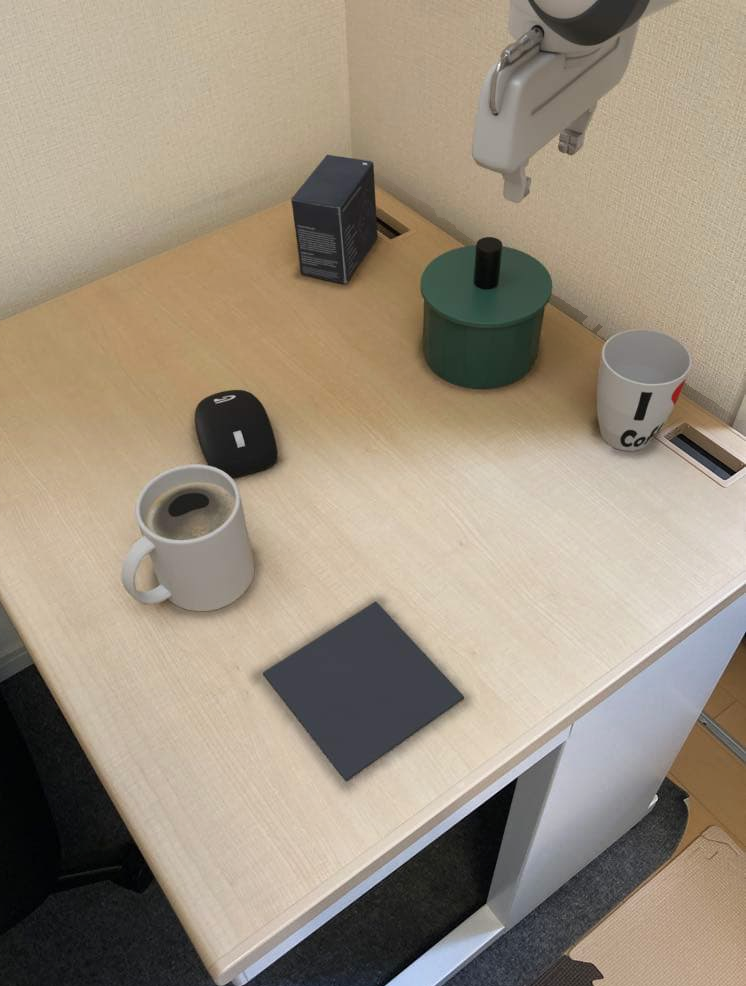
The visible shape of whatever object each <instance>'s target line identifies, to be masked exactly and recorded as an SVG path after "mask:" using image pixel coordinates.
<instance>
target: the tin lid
mask: <svg viewBox="0 0 746 986" xmlns="http://www.w3.org/2000/svg"><path fill="white" fill-rule="evenodd" d="M419 283H420V284H419V288H420V294H421V297H422V299H423V302H424V301H425V303H426V304H427V305H428V306H429V307H430V308H431V309H432V310H433V311H434V312H435V313H437V314H438V315H440V316H441V317H443V318H445V319H447V320H449V321H452V322H454V323H457V324H461V325H465V326H470V327H477V328H499V327H506V326H511V325H515V324H518V323H521V322H524V321H526V320H528V319H530V318H532V317H534V316H535V315H537V314H538V313H539V312H540V311H542V310H543V308H544V307H545V308H546V306H547V305H548V303H549V302H550V299H551V297H552V293H553V292H552V291H553V280H552V276H551V275H550V272H549V271H548V269H547V268H546V266H545V265H544V264H543V263H542V262H541V261H539V260H538V259H537V258H536V257H534V256H532V255H530V254H529V253H526V252H524V251H522V250H519V249H516V248H512V247H510V246H509V247H508V246H505V245H503V242H502V241H501V240H500V239H499V238H497V237H493V236H485V237H482V238H479V239H478V240H477V241H476V243H475V244H472V245H466V246H461V247H457V248H454V249H451V250H448V251H445V252H444V253H442V254H439V255H438V256H436V257H435V258H434V259H432V260H431V261H430V262H429V263H428V264H427V265H426V267H425V268H424V270H423V272H422V274H421V277H420V282H419Z"/></svg>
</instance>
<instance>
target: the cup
mask: <svg viewBox="0 0 746 986" xmlns="http://www.w3.org/2000/svg"><path fill="white" fill-rule="evenodd" d="M692 359H693V357H692V354H691V352H690V350H689V349H688V348H687V346H686V345H685V344H684V343H683V342H681V341H680V340H679V339H678V338H676V337H674V336H672V335H670V334H669V333H665V332H663V331H660V330H655V329H650V328H649V329H648V328H631V329H627V330H622V331H619V332H617V333H615V334H613V335H612V336H611V337H610V338H608V339H607V340H606V341H605V342H604V344H603V346H602V350H601V355H600V363H599V371H598V376H597V377H598V378H597V386H596V391H597V392H596V406H597V407H596V415H597V420H598V425H599V426H598V427H599V431H600V435H601V438H602V439H603V441H604V442H605V443H606V444H607V445H609V446H610V447H612V448H614V449H616V450H621V451H626V452H632V451H638V450H642V449H644V448H645V447H647V446H648V445H649V444H650V443H651V442H652V440H653V439H654V438H655V437H656V435H658V433H660V431H661V430H662V428H663V427H664V425H665V423H666V421H667V420H668V418H669V417H670V415H671V413H672V411H673V410H674V408H675V406H676V404H677V403H678V400H679V397H680V395H681V393H682V390H683V388H684V385H685V383H686V380H687V378H688V375H689V374H690V373H689V372H690V371H691V368H692V365H693V360H692Z"/></svg>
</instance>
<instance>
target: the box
mask: <svg viewBox="0 0 746 986" xmlns="http://www.w3.org/2000/svg"><path fill="white" fill-rule="evenodd" d="M375 184H376V183H375V165H374V162H373V161H372V160H365V159H361V158H360V159H359V158H354V157H346V156H338V155H332V154H326V155H325V156H324V158H323V159H322V160H321V162H320V163H318V165H317V166H316V167H315V169H314V170H313V171H312V173H310V175H309V176H308V177H307V179H306V180H305V181H304V183H303V184H302V185H301V186H300V187H299V188H298V189H297V191H296V192H295V193H294V194H293V196H292V197H291V198H290V202H291V207H292V215H293V223H294V231H295V232H294V233H295V239H296V247H297V254H298V263H299V270H300V275H302V276H307V277H312V278H315V279H320V280H324V281H325V280H326V281H329V282H335V283H339V284H348V283H349V281H350V279H351V278H352V277H353V275H354V273H355V272H356V270H357V269H358V268H359V266H360V264H361V263H362V262H363V260H364V259H365V257H367V254H368V253H369V251H370V250H371V249H372V246H373V245H374V243H376V241H377V239H378V236H379V235H378V220H377V202H376V186H375Z"/></svg>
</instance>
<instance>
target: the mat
mask: <svg viewBox="0 0 746 986" xmlns="http://www.w3.org/2000/svg"><path fill="white" fill-rule="evenodd" d="M262 675H263V676H264V678H265V680H267V682H268V683H269V685H270V686H271V687H272V688H273V689H274V691H275V692H276V694H277V695H278V696H279V697H280V699H281V700H282V701H283V702H284V704H285V705H286V707H288V709H289V710H290V712H291V713H292V714H293V715H294V717H295V718H296V719H297V720H298V722H299V723H300V724H301V726H302V727H303V728H304V730H305V731H306V732H307V734H308V735H309V737H311V739H312V740H313V742H314V743H315V744H316V745H317V746H318V748H319V749H320V751H322V753H323V754H324V756H325V757H326V758H327V759H328V761H329V762H330V763H331V765H332V766H333V767H334V768H335V770H336V771H337V772H338V773H339V775H340V776H341V778H342V779H343V780H344V781H345V782H348V781H349V780H351V779H352V778H354V777H355V776H356V775H358V774H359V773H360V772H362V771H363V770H365V769H366V768H367V767H369V766H370V765H372V764H374V763H375V762H376V761H377V760H380V758H382V757H383V756H385V755H386V754H387V753H389V752H390V751H392V750H394V749H395V748H396V747H398V746H399V745H400V744H402V743H403V742H404V741H405V742H406V740H407V739H409V738H410V737H412V736H414V735H415V734H416V733H417V732H419V731H421V730H422V729H423V728H425V727H426V726H427V725H429V724H430V723H432V722H433V721H435V720H437V718H439V717H440V716H442V715H443V714H445V713H446V712H447V711H449V710H450V709H451V708H453V707H455V706H456V705H457V704H459V703H461V702H462V701H463V700H464V699H465V696H464V695H463V693H462V692H461V691H460V690H459V689H458V688H457V687H456V686H455V685H454V684H453V683H452V681H450V679H449V678H448V677H447V676H446V675H445V674H444V673H443V671H441V669H440V668H439V667H438V666H437V665H436V664H435V663H434V662H433V661H432V660H431V659H430V658H429V657H428V656H427V655H426V653H425V652H424V651H423V650H422V649H421V648H420V647H419V645H417V644H416V642H414V640H413V639H412V638H411V637H410V636H409V635H408V634H407V633H406V632H405V630H404V629H402V627H401V626H400V625H399V624H398V623H397V622H396V621H395V619H393V618H392V617H391V616H390V614H389V613H388V612H387V611H386V610H385V609H384V608H383V607H382V606H381V605H380V604H379V602H377V601H374V602H372V603H371V604H369V605H367V606H366V607H364V608H363V609H361V610H360V611H358V612H357V613H354V614H353V615H352V616H350V617H348V618H347V619H345V620H343V621H342V622H340V623H339V624H337V625H336V626H334V627H333V628H331V629H329V630H328V631H326V632H325V633H323V634H321V635H320V636H318V637H317V638H314V639H313V640H312V641H310V642H308V643H307V644H305V645H304V646H303V647H301V648H299V649H298V650H296V651H294V652H293V653H291V654H290V655H288V656H286V657H284V658H283V659H282V660H280V661H278V662H277V663H275V664H274V665H272V666H271V667H269V668H268V669H265V670H264V671H263V672H262Z"/></svg>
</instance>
